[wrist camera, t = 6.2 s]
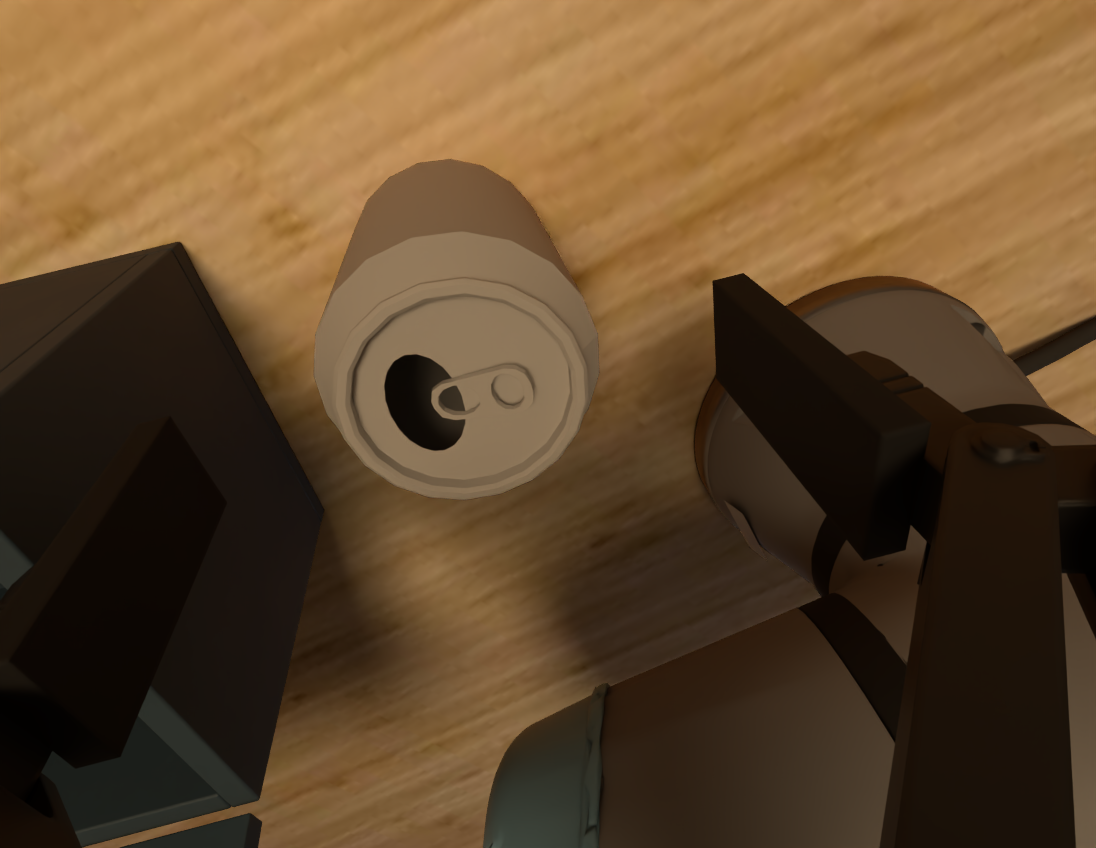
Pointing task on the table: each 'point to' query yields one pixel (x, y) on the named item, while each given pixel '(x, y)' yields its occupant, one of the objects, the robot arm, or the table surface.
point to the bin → (234, 552)
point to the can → (455, 337)
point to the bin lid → (212, 835)
